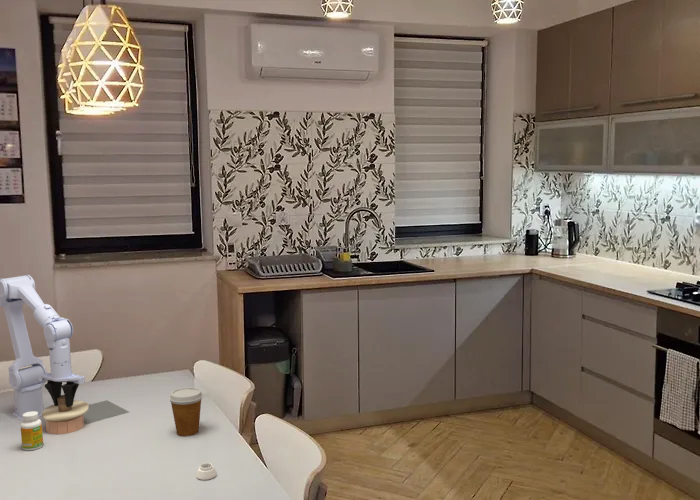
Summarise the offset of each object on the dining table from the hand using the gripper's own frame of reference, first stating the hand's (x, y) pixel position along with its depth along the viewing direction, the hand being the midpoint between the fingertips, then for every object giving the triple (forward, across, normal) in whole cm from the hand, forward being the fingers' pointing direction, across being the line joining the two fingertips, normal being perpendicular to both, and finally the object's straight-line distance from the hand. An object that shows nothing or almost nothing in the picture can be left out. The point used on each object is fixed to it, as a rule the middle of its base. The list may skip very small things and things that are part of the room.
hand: (63, 405), depth 211 cm
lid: (+2, 0, -1) cm, 2 cm away
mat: (+7, -1, -14) cm, 16 cm away
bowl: (+7, 0, 0) cm, 7 cm away
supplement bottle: (+7, 0, +14) cm, 16 cm away
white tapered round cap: (+8, -56, +19) cm, 60 cm away
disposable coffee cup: (+7, -37, -6) cm, 38 cm away
